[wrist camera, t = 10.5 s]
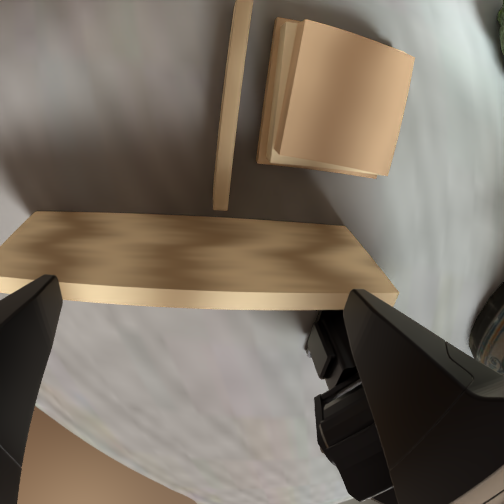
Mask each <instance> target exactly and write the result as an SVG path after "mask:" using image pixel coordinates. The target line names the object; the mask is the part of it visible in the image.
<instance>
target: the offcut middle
mask: <svg viewBox="0 0 504 504" xmlns="http://www.w3.org/2000/svg"><path fill="white" fill-rule="evenodd" d="M297 24H298V23H292V22H285V23H284V24H283V25H281V28H280V37H279V46H278V55H277V64H276V73H275V81H274V90H273V99H272V108H271V117H270V125H269V134H268V143H267V152H266V158H267V159H268V160H269V162H270V163H279V164H290V165H301V166H311V167H321V168H329V169H338V170H346V171H354V172H361V173H368V174H375V175H381V174H376V173H372V172H367V171H363V170H358V169H353V168H349V167H344V166H339V165H334V164H328V163H323V162H318V161H312V160H307V159H301V158H295V157H289V156H282V155H279V154H278V153H277V152H276V151H275V150H274V146H275V140H276V135H277V130H278V125H279V119H280V114H281V109H282V104H283V98H284V93H285V88H286V82H287V77H288V72H289V66H290V61H291V56H292V51H293V45H294V40H295V35H296V29H297ZM394 49H395V48H394ZM397 50H398V49H397ZM399 51H401V50H399ZM401 52H403V51H401ZM404 53H405V52H404ZM382 176H384V175H382Z"/></svg>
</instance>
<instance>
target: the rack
mask: <svg viewBox="0 0 504 504" xmlns="http://www.w3.org/2000/svg"><path fill="white" fill-rule="evenodd" d="M252 7H253V0H236V2H235V5H234V11H233V18H232V25H231V32H230V39H229V47H228V54H227V62H226V70H225V78H224V86H223V95H222V103H221V112H220V122H219V131H218V141H217V151H216V162H215V172H214V184H213V210H223V211H228V201H229V191H230V182H231V172H232V163H233V154H234V145H235V137H236V128H237V120H238V111H239V103H240V95H241V87H242V79H243V72H244V64H245V56H246V49H247V42H248V35H249V27H250V21H251V14H252ZM44 274H49V275H56V276H57V278H58V281H59V285H60V290H61V294H62V299H63V300H72V301H83V302H95V303H108V304H122V305H137V306H154V307H174V308H198V309H231V310H344V307H345V304H346V301H347V298H348V296H349V293H350V291H351V290H352V289H365V290H366V291H368V292H370V293H371V294H373V295H374V296H376V297H378V298H379V299H381V300H382V301H384V302H386V303H387V304H389V305H390V306H392V307H393V306H394V304H395V301H396V299H397V297H398V294H399V292H398V290H397V289H396V288H395V287H394V285H393V284H392V283H391V281H390V280H389V279H388V278H387V276H386V275H385V274H384V273H383V271H382V270H381V269H380V267H379V266H378V265H377V264H376V262H375V261H374V260H373V259H372V258H371V256H370V255H369V254H368V253H367V251H366V250H365V249H364V248H363V247H362V245H361V244H360V243H359V242H358V241H357V239H356V238H355V237H354V236H353V235H352V233H351V232H350V231H349V230H348V229H347V227H346V226H338V225H326V224H313V223H300V222H286V221H271V220H256V219H240V218H222V217H204V216H183V215H160V214H134V213H101V212H48V211H35V212H34V213H33V214H32V215H31V216H30V217H29V218H28V219H27V220H26V221H25V222H24V223H23V224H22V225H21V226H20V227H19V228H18V229H17V230H16V231H15V232H14V233H13V234H12V235H11V236H10V237H9V238H8V239H7V240H6V241H5V242H4V243H3V244H2V245H1V246H0V293H8V294H12V293H13V292H15V291H17V290H18V289H20V288H22V287H23V286H25V285H27V284H28V283H30V282H32V281H34V280H35V279H37V278H39V277H40V276H42V275H44Z"/></svg>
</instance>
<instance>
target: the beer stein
mask: <svg viewBox="0 0 504 504" xmlns="http://www.w3.org/2000/svg"><path fill="white" fill-rule="evenodd" d="M469 347H470V350H471V352H472V354H473V357H474V359H475V360H477V361H479V362H481V363H482V364H484V365H486V366H488V367H489V368H491V369H493V370H495V371H496V372H498V373H500V374H502V375H503V376H504V282H503V283H502V284H501V285H500V287H499V288H498V289H497V290H496V292H495V293H494V294H493V295H492V296H491V297H490V299H489V300H488V302H487V304H486V305H485V307H484V308H483V310H482V311H481V313H480V315H479V316H478V318H477V320H476V322H475V325H474V327H473V329H472V332H471V334H470V340H469Z"/></svg>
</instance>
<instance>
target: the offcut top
mask: <svg viewBox="0 0 504 504" xmlns="http://www.w3.org/2000/svg"><path fill="white" fill-rule="evenodd" d="M414 60H415V57H413V56H410V55H408V54H406V53H404V52H401V51H399V50H397V49H394V48H392V47H389V46H387V45H384V44H382V43H379V42H377V41H374V40H371V39H369V38H366V37H363V36H360V35H357V34H354V33H351V32H348V31H345V30H342V29H339V28H336V27H332V26H329V25H326V24H322V23H319V22H315V21H311V20H307V19H305V20H303V21H301V22H300V23H298V24H297V29H296V35H295V40H294V45H293V51H292V56H291V61H290V66H289V72H288V77H287V82H286V88H285V93H284V98H283V104H282V109H281V114H280V119H279V125H278V130H277V135H276V140H275V146H274V150H275V151H276V152H277V153H278V154H279V155H282V156H289V157H295V158H301V159H307V160H312V161H318V162H323V163H328V164H334V165H339V166H344V167H349V168H353V169H358V170H363V171H367V172H372V173H376V174H381V175H385V176H388V173H389V169H390V166H391V162H392V158H393V155H394V151H395V147H396V143H397V139H398V135H399V131H400V127H401V123H402V118H403V114H404V110H405V105H406V100H407V96H408V91H409V86H410V81H411V76H412V71H413V65H414Z"/></svg>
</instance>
